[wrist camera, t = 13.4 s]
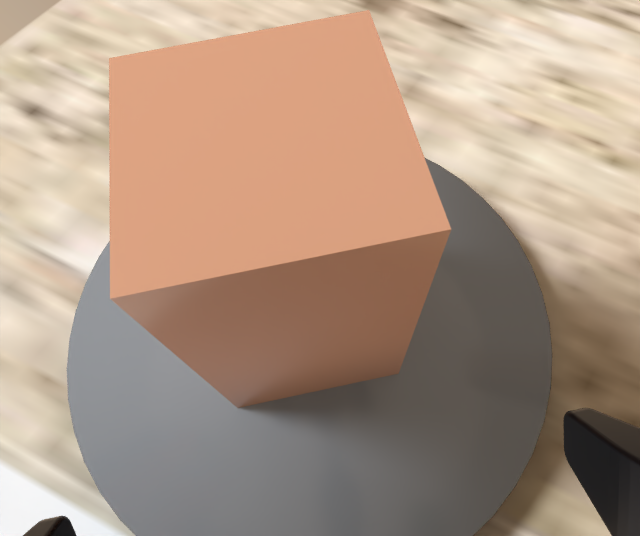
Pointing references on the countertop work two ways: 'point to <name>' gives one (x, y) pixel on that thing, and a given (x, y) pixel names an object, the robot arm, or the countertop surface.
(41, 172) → the countertop surface
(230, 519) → the slate plate
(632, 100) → the countertop surface
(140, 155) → the tall clay pillar
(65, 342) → the countertop surface
